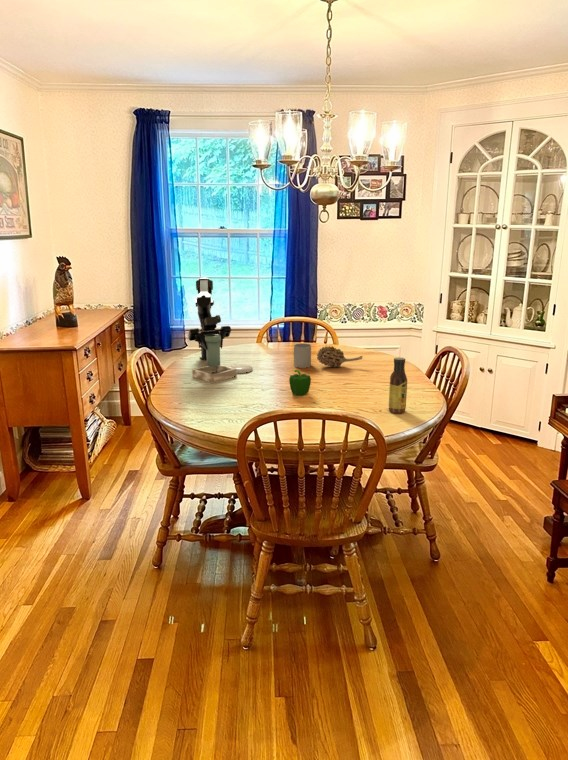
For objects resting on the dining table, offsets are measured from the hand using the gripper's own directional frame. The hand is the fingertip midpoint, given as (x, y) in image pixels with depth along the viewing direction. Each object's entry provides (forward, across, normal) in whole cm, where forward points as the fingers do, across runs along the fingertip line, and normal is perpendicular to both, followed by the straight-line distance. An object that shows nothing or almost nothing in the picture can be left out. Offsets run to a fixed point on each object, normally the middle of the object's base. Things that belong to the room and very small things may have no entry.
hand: (214, 348), depth 248 cm
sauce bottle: (+60, +47, -42) cm, 87 cm away
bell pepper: (+37, +24, -18) cm, 47 cm away
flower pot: (+4, 0, +6) cm, 8 cm away
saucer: (+4, +14, +14) cm, 20 cm away
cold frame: (+8, 0, +10) cm, 13 cm away
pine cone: (+15, +59, +4) cm, 61 cm away
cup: (+8, +44, +11) cm, 46 cm away
